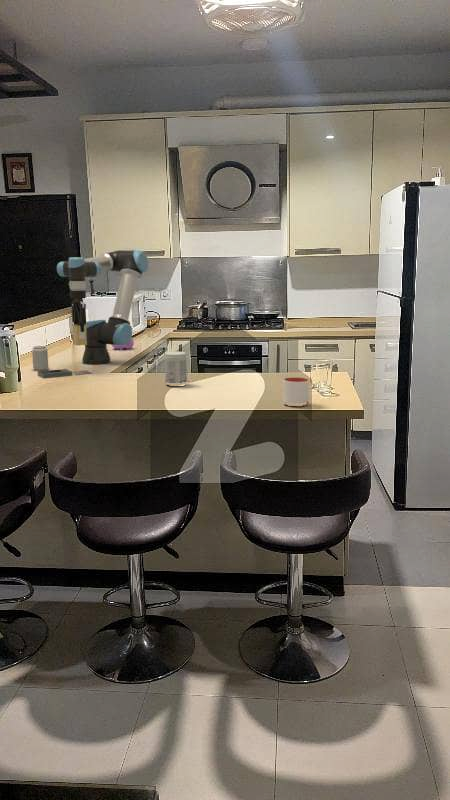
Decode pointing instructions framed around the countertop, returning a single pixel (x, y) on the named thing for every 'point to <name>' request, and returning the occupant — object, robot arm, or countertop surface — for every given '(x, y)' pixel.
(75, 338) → the nut block
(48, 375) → the dark grey flat slab
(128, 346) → the teapot
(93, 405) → the countertop surface
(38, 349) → the can
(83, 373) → the rubber pad
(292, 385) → the cup
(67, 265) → the robot arm
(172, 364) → the supplement tub
